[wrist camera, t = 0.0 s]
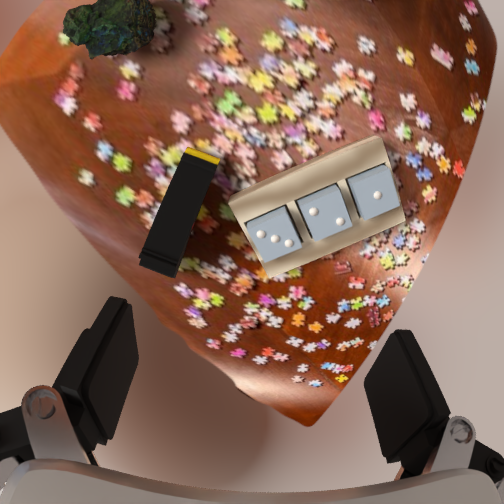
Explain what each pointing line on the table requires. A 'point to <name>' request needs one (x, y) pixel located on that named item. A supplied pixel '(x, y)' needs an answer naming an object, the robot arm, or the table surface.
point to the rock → (111, 26)
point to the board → (311, 181)
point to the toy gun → (178, 213)
